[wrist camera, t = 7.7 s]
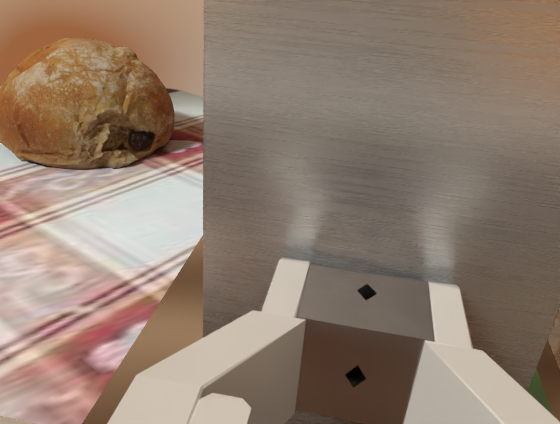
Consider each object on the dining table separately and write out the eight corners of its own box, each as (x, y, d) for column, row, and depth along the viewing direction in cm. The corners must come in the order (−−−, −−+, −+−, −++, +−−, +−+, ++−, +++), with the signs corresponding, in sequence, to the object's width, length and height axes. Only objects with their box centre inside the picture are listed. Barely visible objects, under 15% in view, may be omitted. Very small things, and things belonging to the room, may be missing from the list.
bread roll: (57, 240, 29) (86, 129, 24) (-54, 125, 31) (-48, 2, 26) (180, 183, 37) (221, 90, 32) (84, 94, 39) (108, -6, 34)
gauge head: (617, 531, 11) (940, -8, 6) (202, 445, 12) (204, -66, 7) (533, 315, 17) (660, -32, 12) (266, 272, 18) (290, -61, 13)
